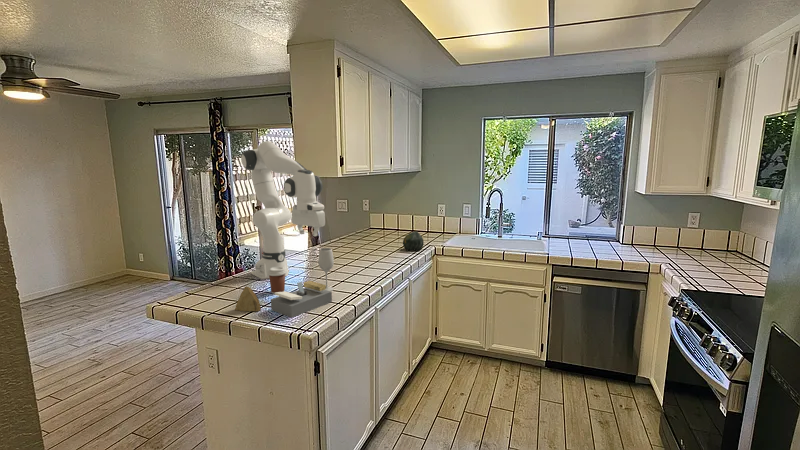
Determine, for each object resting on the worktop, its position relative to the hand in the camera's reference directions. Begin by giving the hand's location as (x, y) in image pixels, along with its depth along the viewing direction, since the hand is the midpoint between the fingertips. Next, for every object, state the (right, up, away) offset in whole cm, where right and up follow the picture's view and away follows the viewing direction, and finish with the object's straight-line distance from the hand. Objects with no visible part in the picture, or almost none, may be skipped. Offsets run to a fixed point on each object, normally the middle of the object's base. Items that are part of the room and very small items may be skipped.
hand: (308, 235), depth 182 cm
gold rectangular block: (+3, -25, 0) cm, 25 cm away
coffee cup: (-19, -29, +14) cm, 37 cm away
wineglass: (+5, -28, +18) cm, 34 cm away
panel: (-2, -32, -5) cm, 32 cm away
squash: (+52, -14, +108) cm, 121 cm away
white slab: (-6, -27, -12) cm, 30 cm away
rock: (-24, -33, -10) cm, 42 cm away
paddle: (-2, -26, -6) cm, 27 cm away
